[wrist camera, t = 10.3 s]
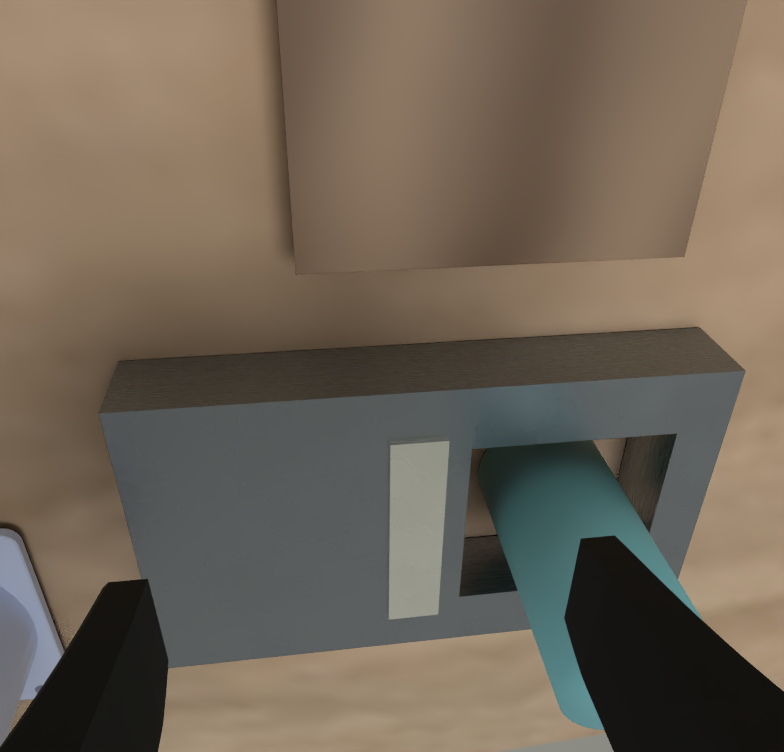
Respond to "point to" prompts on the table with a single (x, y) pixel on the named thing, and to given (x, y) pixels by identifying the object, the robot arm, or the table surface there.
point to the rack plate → (384, 478)
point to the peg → (561, 543)
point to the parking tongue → (498, 128)
